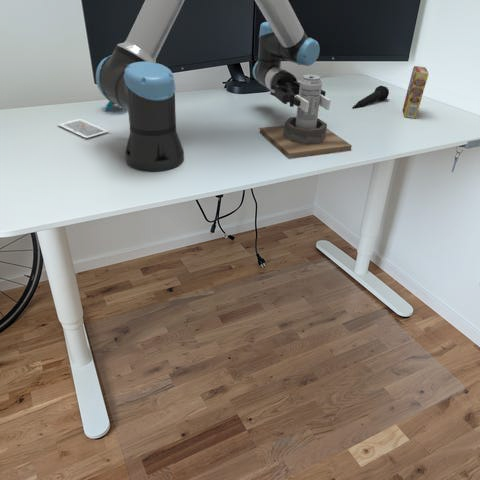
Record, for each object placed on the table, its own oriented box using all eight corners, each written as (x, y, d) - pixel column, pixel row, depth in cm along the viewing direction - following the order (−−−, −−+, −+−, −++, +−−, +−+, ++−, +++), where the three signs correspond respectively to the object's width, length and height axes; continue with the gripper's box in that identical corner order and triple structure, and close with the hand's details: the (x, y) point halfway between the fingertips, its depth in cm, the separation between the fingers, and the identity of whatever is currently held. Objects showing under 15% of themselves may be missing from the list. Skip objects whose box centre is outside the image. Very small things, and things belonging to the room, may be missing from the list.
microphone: (355, 118, 165) (388, 101, 174) (361, 105, 160) (394, 88, 170) (344, 110, 167) (377, 93, 176) (350, 96, 162) (383, 80, 172)
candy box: (417, 119, 157) (429, 73, 148) (404, 117, 157) (415, 71, 149) (414, 110, 164) (426, 66, 155) (402, 109, 165) (413, 65, 156)
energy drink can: (317, 127, 136) (324, 75, 127) (313, 134, 131) (320, 80, 123) (297, 124, 137) (303, 72, 129) (292, 130, 133) (298, 77, 124)
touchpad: (80, 121, 143) (79, 115, 142) (109, 134, 136) (108, 127, 134) (58, 127, 138) (56, 121, 137) (86, 141, 131) (85, 134, 129)
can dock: (350, 150, 132) (354, 131, 129) (288, 158, 125) (290, 139, 122) (316, 126, 147) (318, 109, 144) (259, 132, 141) (260, 114, 137)
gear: (130, 109, 148) (105, 87, 143) (119, 123, 149) (93, 102, 144) (128, 103, 158) (104, 83, 153) (117, 116, 159) (93, 96, 154)
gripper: (306, 92, 148) (345, 116, 131) (252, 97, 142) (285, 122, 125) (309, 68, 144) (349, 89, 126) (254, 72, 138) (288, 94, 120)
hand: (318, 105), depth 126 cm, fingers closed on energy drink can, 6 cm apart
